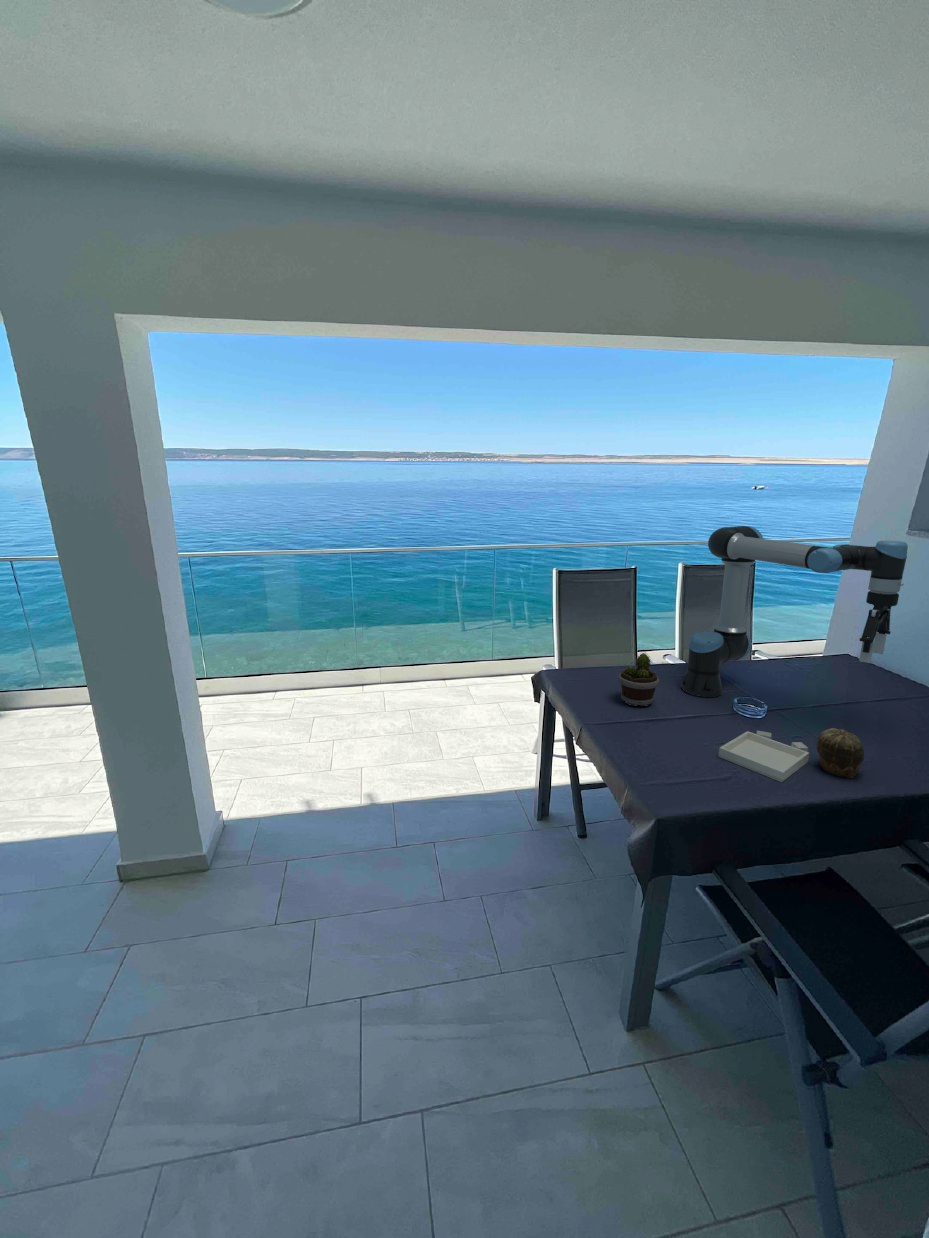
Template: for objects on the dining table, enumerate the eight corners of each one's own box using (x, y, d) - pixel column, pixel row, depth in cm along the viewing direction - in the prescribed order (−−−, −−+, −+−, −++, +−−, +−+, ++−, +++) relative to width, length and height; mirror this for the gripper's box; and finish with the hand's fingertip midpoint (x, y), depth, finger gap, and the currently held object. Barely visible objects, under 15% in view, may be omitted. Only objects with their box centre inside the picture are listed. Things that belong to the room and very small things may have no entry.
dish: (718, 756, 152) (719, 747, 151) (746, 739, 162) (747, 731, 161) (781, 782, 138) (783, 772, 137) (807, 761, 148) (809, 752, 148)
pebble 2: (790, 748, 156) (791, 742, 156) (800, 748, 156) (801, 742, 156) (797, 754, 153) (798, 747, 152) (807, 754, 153) (808, 747, 152)
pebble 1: (755, 740, 162) (756, 734, 161) (755, 737, 164) (756, 730, 164) (770, 743, 160) (771, 736, 159) (770, 739, 162) (771, 732, 162)
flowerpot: (645, 714, 182) (649, 661, 177) (608, 701, 193) (611, 652, 188) (665, 702, 191) (669, 652, 186) (629, 691, 202) (632, 644, 197)
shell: (803, 761, 149) (810, 724, 146) (838, 759, 149) (845, 722, 146) (833, 781, 138) (840, 742, 135) (870, 779, 139) (878, 740, 136)
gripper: (887, 599, 144) (874, 669, 149) (909, 588, 159) (897, 652, 164) (855, 595, 150) (844, 662, 155) (880, 585, 165) (868, 647, 170)
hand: (871, 657), depth 159 cm, fingers open, 13 cm apart
